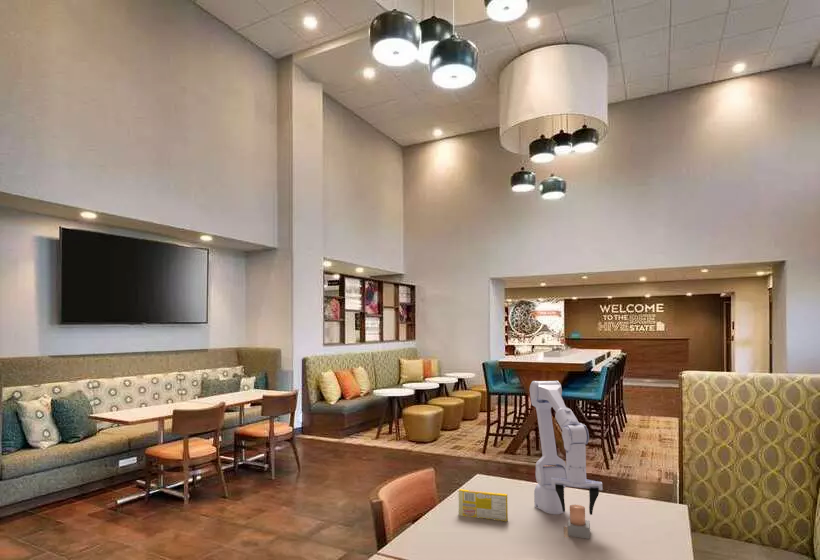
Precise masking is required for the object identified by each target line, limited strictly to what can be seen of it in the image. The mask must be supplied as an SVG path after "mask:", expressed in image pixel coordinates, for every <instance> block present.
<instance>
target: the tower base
mask: <svg viewBox="0 0 820 560" xmlns="http://www.w3.org/2000/svg"><path fill="white" fill-rule="evenodd" d="M563 536H564V537H563V538H569V537H571V536H568V526H563Z"/></svg>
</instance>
